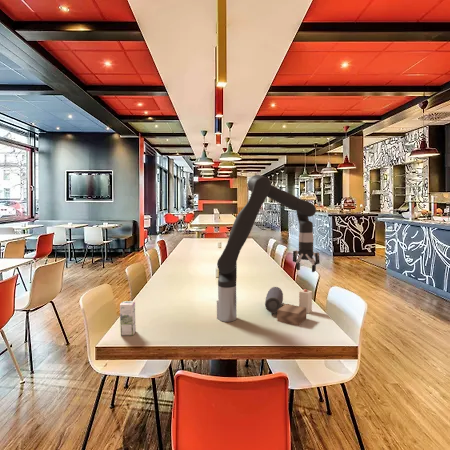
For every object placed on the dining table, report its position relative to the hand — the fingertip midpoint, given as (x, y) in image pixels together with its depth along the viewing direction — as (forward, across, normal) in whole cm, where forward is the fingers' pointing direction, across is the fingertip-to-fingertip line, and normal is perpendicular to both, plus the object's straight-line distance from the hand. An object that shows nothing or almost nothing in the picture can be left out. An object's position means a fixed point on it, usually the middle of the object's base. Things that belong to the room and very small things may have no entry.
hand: (305, 271), depth 184 cm
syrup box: (+22, -52, -76) cm, 95 cm away
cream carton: (+22, 0, 0) cm, 22 cm away
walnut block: (+22, 0, -16) cm, 28 cm away
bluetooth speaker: (+22, -16, -5) cm, 28 cm away
